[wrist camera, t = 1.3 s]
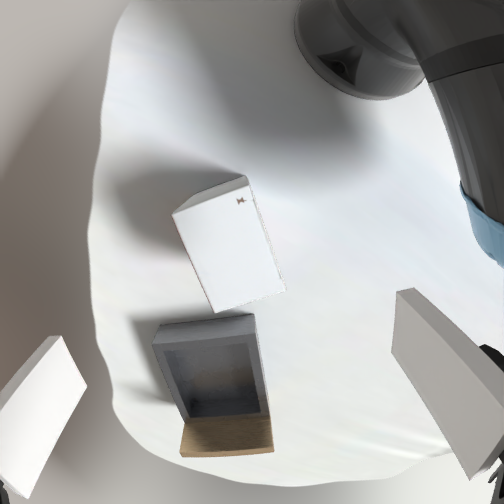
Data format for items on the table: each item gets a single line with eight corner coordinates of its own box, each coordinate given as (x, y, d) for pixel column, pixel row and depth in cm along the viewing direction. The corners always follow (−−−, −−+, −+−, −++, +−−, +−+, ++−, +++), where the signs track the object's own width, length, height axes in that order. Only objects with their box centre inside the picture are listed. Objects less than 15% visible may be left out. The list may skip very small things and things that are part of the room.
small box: (193, 193, 29) (167, 211, 19) (247, 174, 28) (249, 181, 18) (221, 266, 31) (212, 316, 21) (273, 248, 31) (287, 292, 21)
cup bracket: (254, 313, 33) (257, 364, 24) (268, 400, 37) (274, 451, 28) (160, 324, 33) (138, 373, 24) (190, 407, 37) (182, 457, 29)
